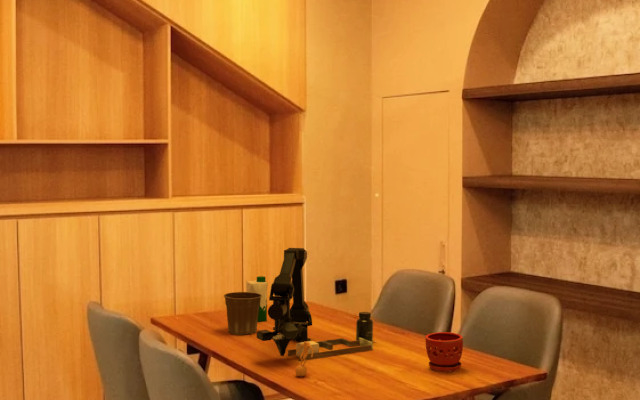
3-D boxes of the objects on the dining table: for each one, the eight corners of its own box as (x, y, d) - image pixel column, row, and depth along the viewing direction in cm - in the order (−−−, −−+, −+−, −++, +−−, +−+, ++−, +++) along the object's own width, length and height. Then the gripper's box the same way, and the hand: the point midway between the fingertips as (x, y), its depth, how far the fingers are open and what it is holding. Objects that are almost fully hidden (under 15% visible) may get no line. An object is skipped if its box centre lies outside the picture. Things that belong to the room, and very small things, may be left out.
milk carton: (269, 321, 353) (269, 278, 352) (250, 323, 350) (250, 279, 348) (262, 317, 361) (262, 275, 360) (244, 319, 358) (244, 276, 356)
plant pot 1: (264, 328, 340) (264, 292, 339) (258, 337, 324) (258, 298, 323) (228, 327, 341) (228, 291, 340) (220, 336, 325) (220, 298, 324)
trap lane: (280, 351, 300) (280, 344, 299) (351, 341, 316) (352, 334, 316) (299, 361, 286) (299, 353, 286) (372, 349, 303) (372, 342, 303)
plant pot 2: (437, 361, 286) (437, 329, 285) (469, 368, 278) (469, 335, 277) (418, 369, 276) (418, 336, 275) (450, 376, 268) (451, 342, 267)
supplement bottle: (371, 344, 312) (371, 314, 311) (354, 343, 313) (355, 314, 312) (373, 340, 319) (374, 311, 318) (357, 339, 320) (357, 310, 319)
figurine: (288, 375, 268) (288, 340, 268) (301, 371, 272) (301, 338, 272) (304, 380, 262) (305, 345, 262) (317, 376, 266) (317, 342, 266)
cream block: (296, 356, 294) (296, 343, 293) (312, 353, 297) (312, 340, 297) (303, 359, 289) (303, 346, 289) (318, 356, 293) (318, 343, 293)
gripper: (269, 321, 275) (269, 364, 276) (314, 315, 285) (314, 357, 286) (255, 315, 285) (255, 357, 286) (300, 310, 294) (300, 350, 295)
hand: (282, 355), depth 288 cm, fingers closed
